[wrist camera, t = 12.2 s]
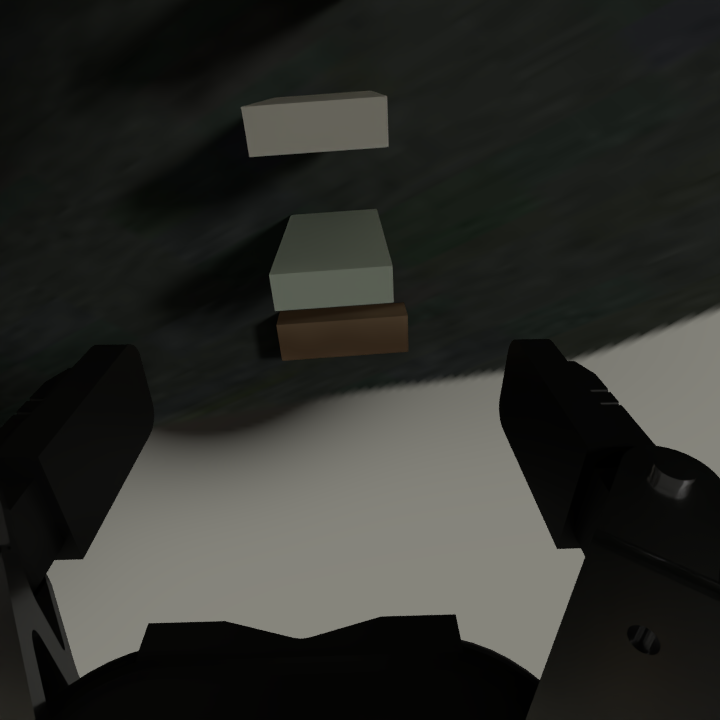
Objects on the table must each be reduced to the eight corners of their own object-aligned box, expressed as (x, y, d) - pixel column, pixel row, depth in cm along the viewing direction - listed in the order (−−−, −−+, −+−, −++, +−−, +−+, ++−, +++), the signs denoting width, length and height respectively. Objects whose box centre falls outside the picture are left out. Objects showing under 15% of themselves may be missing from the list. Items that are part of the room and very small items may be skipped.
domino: (275, 97, 25) (241, 107, 17) (370, 90, 25) (386, 96, 17) (279, 131, 26) (249, 157, 17) (372, 124, 26) (388, 146, 17)
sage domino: (290, 215, 28) (268, 274, 20) (376, 208, 28) (392, 265, 20) (294, 242, 29) (274, 311, 20) (377, 236, 29) (393, 302, 20)
